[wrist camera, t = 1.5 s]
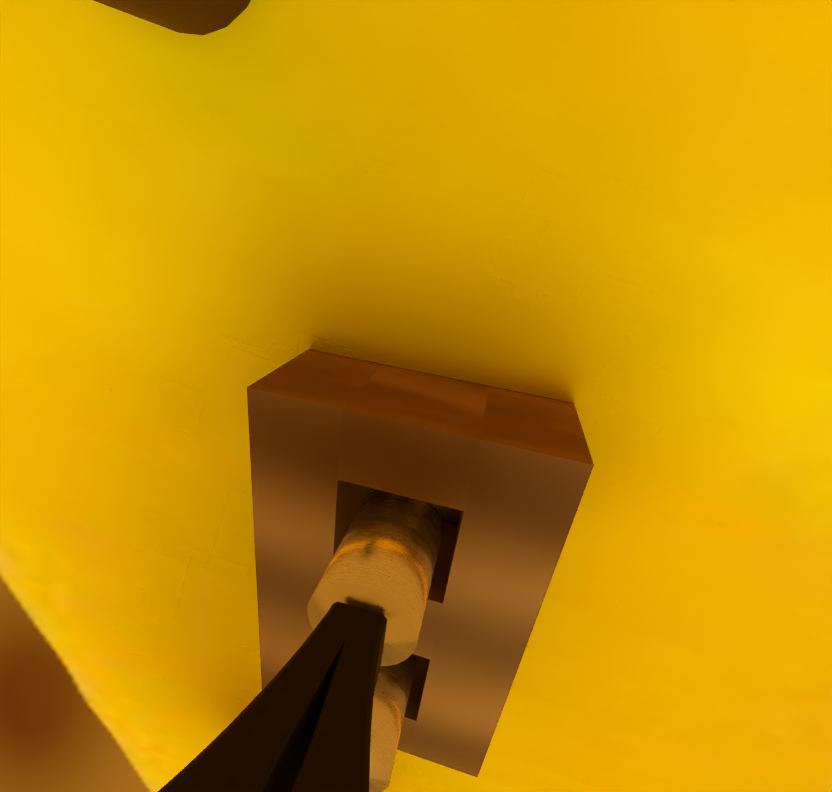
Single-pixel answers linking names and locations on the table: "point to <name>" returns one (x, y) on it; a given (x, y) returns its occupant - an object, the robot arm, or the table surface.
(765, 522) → the table surface
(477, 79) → the table surface
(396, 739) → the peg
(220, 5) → the coffee cup
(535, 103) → the table surface
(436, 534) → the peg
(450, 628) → the socket block
